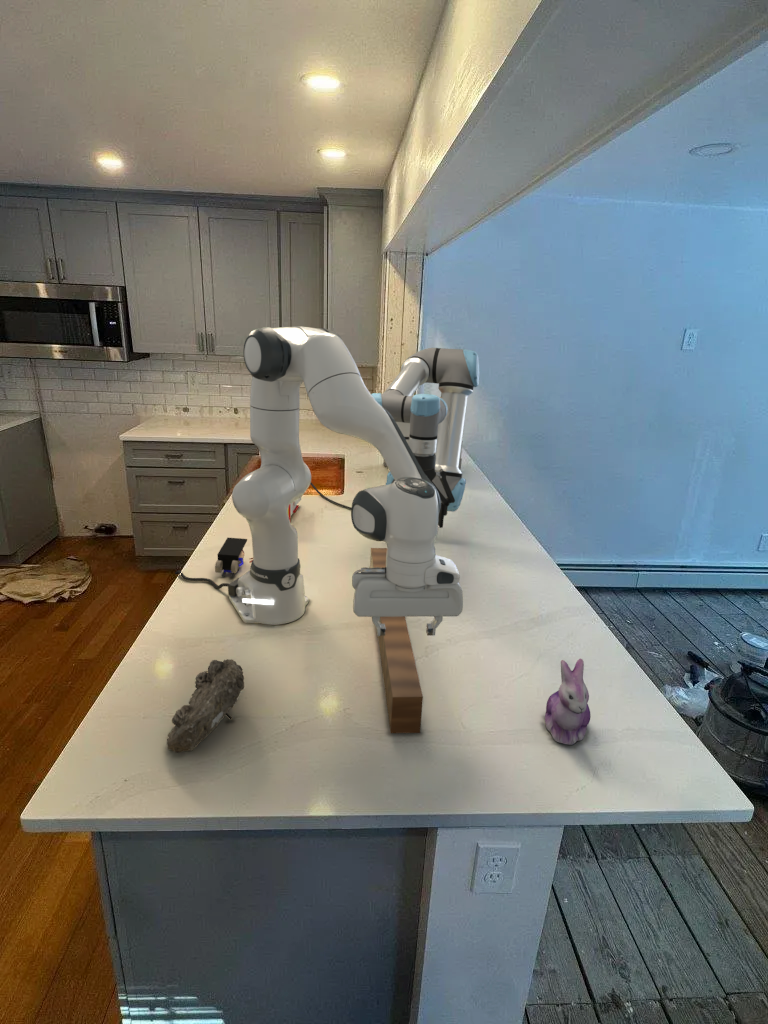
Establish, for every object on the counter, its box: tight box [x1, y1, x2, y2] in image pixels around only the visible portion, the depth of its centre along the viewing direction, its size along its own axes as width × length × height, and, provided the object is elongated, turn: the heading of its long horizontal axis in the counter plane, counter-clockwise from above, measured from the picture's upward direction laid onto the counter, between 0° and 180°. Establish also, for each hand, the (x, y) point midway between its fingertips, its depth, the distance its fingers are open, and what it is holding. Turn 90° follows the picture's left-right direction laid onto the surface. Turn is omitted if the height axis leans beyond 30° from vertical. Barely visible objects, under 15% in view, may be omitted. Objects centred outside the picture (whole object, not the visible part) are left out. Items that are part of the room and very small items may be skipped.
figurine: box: [544, 658, 592, 746], centre depth 106 cm, size 9×10×15 cm
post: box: [369, 547, 424, 734], centre depth 137 cm, size 68×6×8 cm, turn 5°
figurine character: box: [214, 537, 248, 578], centre depth 166 cm, size 7×8×15 cm
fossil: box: [166, 658, 245, 754], centre depth 106 cm, size 22×10×15 cm
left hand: (405, 634), depth 107 cm, fingers open, 8 cm apart
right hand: (417, 527), depth 159 cm, fingers open, 13 cm apart
